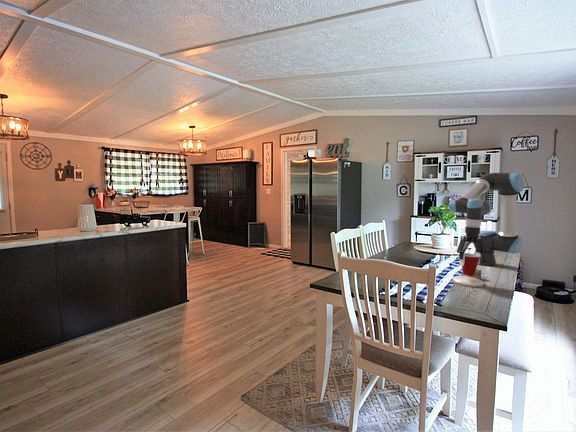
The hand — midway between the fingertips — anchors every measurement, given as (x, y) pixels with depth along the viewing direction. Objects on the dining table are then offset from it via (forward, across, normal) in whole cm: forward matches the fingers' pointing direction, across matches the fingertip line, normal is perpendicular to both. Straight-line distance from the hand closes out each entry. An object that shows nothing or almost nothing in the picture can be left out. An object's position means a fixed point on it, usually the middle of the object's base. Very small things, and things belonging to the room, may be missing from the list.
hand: (469, 264), depth 196 cm
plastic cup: (+6, 0, 0) cm, 6 cm away
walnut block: (+11, -12, -6) cm, 17 cm away
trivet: (+11, 0, 0) cm, 11 cm away
